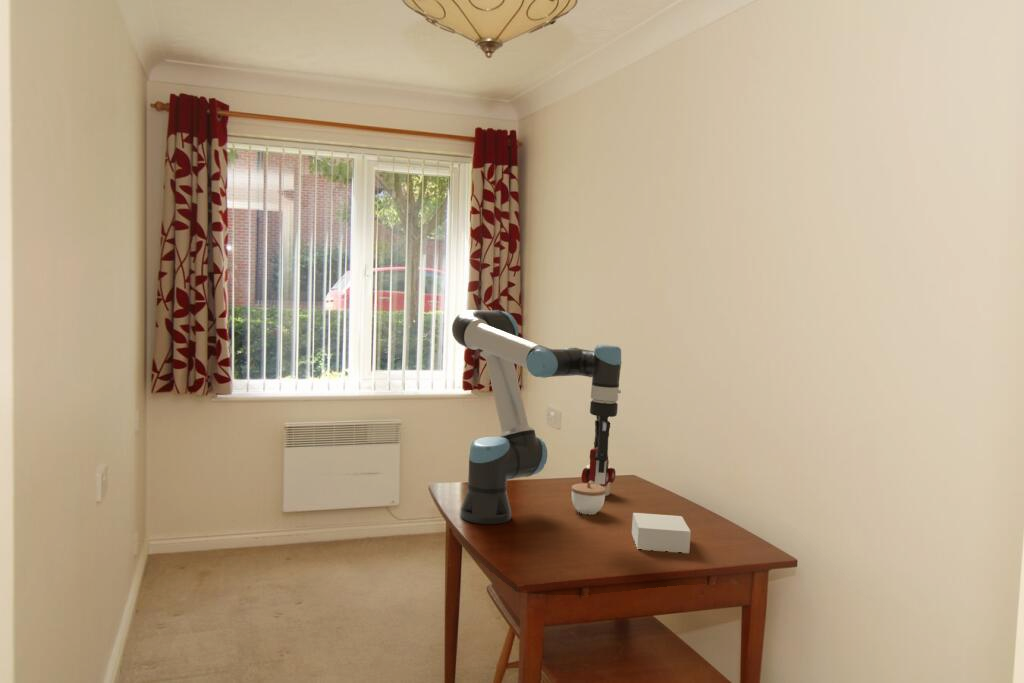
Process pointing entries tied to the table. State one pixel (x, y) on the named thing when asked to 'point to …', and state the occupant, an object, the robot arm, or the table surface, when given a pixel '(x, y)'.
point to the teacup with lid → (600, 485)
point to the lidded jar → (588, 497)
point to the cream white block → (660, 532)
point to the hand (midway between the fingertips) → (598, 478)
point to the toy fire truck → (590, 473)
